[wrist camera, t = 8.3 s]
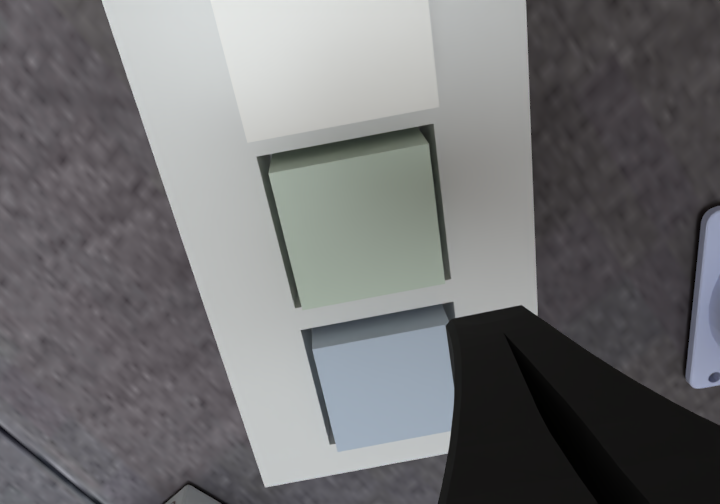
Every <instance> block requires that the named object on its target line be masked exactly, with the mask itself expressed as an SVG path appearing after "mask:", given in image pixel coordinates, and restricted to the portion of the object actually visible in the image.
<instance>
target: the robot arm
mask: <svg viewBox="0 0 720 504" xmlns="http://www.w3.org/2000/svg"><path fill="white" fill-rule="evenodd" d="M446 333H447V340H448V347H449V354H450V361H451V369H452V376H453V383H454V407H453V417H452V426H451V435H450V443H449V450H448V456H447V462H446V468H445V473H444V478H443V483H442V488H441V492H440V497H439V501H438V504H720V426H719V425H717V424H715V423H713V422H711V421H709V420H707V419H705V418H703V417H701V416H699V415H697V414H695V413H693V412H691V411H689V410H687V409H685V408H683V407H681V406H679V405H677V404H675V403H674V402H672V401H670V400H668V399H666V398H665V397H663V396H661V395H659V394H658V393H656V392H654V391H652V390H651V389H649V388H647V387H645V386H643V385H642V384H640V383H638V382H636V381H635V380H633V379H631V378H630V377H628V376H626V375H625V374H623V373H621V372H620V371H618V370H616V369H615V368H613V367H612V366H610V365H609V364H607V363H606V362H604V361H602V360H601V359H599V358H598V357H596V356H595V355H593V354H592V353H590V352H589V351H587V350H586V349H584V348H583V347H581V346H580V345H578V344H577V343H575V342H574V341H572V340H571V339H569V338H568V337H567V336H565V335H564V334H562V333H561V332H559V331H558V330H557V329H555V328H554V327H552V326H551V325H549V324H548V323H547V322H545V321H544V320H542V319H541V318H539V317H538V316H537V315H535V314H534V313H532V312H531V311H529V310H528V309H527V308H525V307H524V306H522V305H519V306H514V307H509V308H504V309H499V310H493V311H488V312H483V313H478V314H473V315H468V316H463V317H458V318H453V319H451V320H450V321H449V322H448V323H447V325H446ZM712 373H713V374H712ZM711 374H712V375H711ZM710 375H711V376H710ZM685 377H686V381H687V382H688V383H689V384H690V385H691V386H692V387H693V388H696V389H701V388H706V387H712V386H717V385H720V206H716V207H713V208H711V209H709V210H708V211H707V212H706V213H705V214H704V216H703V217H702V220H701V228H700V238H699V247H698V257H697V267H696V277H695V287H694V297H693V307H692V317H691V327H690V336H689V346H688V356H687V366H686V376H685Z"/></svg>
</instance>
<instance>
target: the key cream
mask: <svg viewBox="0 0 720 504" xmlns="http://www.w3.org/2000/svg"><path fill="white" fill-rule="evenodd" d="M210 1H211V5H212V9H213V13H214V16H215V20H216V24H217V28H218V32H219V36H220V40H221V43H222V47H223V51H224V55H225V59H226V63H227V67H228V70H229V74H230V78H231V82H232V86H233V90H234V94H235V97H236V101H237V105H238V109H239V113H240V117H241V121H242V124H243V128H244V132H245V136H246V140H247V143H249V142H255V141H260V140H265V139H271V138H276V137H281V136H287V135H292V134H297V133H303V132H308V131H313V130H319V129H324V128H330V127H335V126H340V125H346V124H351V123H356V122H362V121H367V120H372V119H378V118H383V117H388V116H394V115H399V114H404V113H410V112H415V111H420V110H426V109H431V108H436V107H439V97H438V88H437V79H436V69H435V60H434V50H433V41H432V32H431V22H430V13H429V3H428V0H210Z"/></svg>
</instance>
